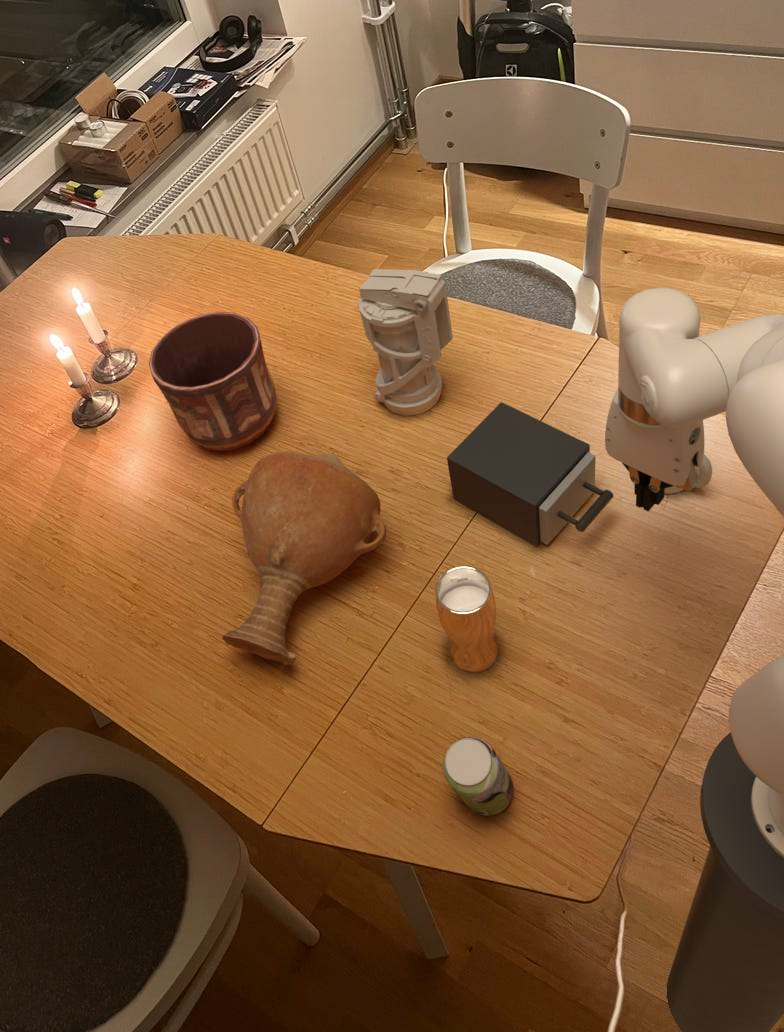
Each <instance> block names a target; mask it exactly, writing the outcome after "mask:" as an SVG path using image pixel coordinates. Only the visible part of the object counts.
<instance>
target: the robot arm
mask: <svg viewBox="0 0 784 1032" xmlns="http://www.w3.org/2000/svg"><path fill="white" fill-rule="evenodd" d="M700 328H701V311H700V308H699V306H698V304H697V303H696V301H695V299H693V297H691V296H690V295H689V294H687V293H686V292H683V291H681V290H678V289H676V288H675V289H674V288H670V287H655V288H654V287H653V288H648V289H644V290H641V291H639V292H637V293H635V294H634V295H632V296H631V297H630V298H628V299H627V300H626V302H624V304H623V306H622V308H621V311H620V314H619V323H618V370H617V371H618V372H617V373H618V377H617V381H618V382H617V383H618V384H617V389H616V391H615V393H614V394H613V397H612V400H611V403H610V405H609V410H608V412H607V417H606V424H605V431H604V432H605V434H604V446H605V447H604V448H605V451H606V453H607V454H608V455H609V456H610V457H611V458H612V459H614V460H616V461H617V462H620V463H621V464H622V466H624V468H625V469H626V470H627V471H628V473H629V474H628V475H629V479H630V481H631V482H632V483H633V484H634V488H633V489H634V490H633V493H634V496H635V507H637V508H639V509H641V508H642V509H643V510H644V511H646V512H650V511H651V510H652V508H653V507H654V506H655V505H656V506H659V505H660V504H661V502H662V501H663V500H664V497H665V493H664V492H665V488H668V487H672V486H673V485H674V486H676V487H678V488H681V489H685V491H688V492H691V491H692V490H693V489H694V488H695V487H694V486H695V485H696V484H697V479H696V475H697V474H696V469H694V466H696V468H698V469H699V467H700V466H701V464H702V462H703V459H704V455H705V426H704V420H707V419H709V418H710V419H711V418H712V417H715V416H717V415H722V413H725V422H726V424H725V425H726V428H727V434H728V436H729V440H730V441H731V444H732V447H733V449H734V452H735V454H736V455H737V457H738V459H739V461H740V462H741V464H742V465H743V467H744V469H745V471H746V472H747V473H748V474H749V475H750V477H751V478H752V480H753V481H754V482H755V484H756V485H757V487H758V488H759V489H760V490H761V491H762V493H763V494H764V495H765V497H766V498H767V499H768V500H769V501H770V503H771V504H772V505H773V506H774V508H775V509H776V510H777V511H778V512H779V514H780V515H781V516H782V517H783V518H784V313H776V314H766V315H760V316H756V317H752V318H748V319H745V320H742V321H739V322H735V323H733V324H729V325H726V326H724V327H721V328H718V329H716V330H713V331H711V332H708V333H705V334H702V335H700ZM728 724H729V725H728V726H729V731H730V732H731V735H732V738H733V741H734V744H735V746H736V749H737V751H738V753H739V755H740V756H741V758H742V760H743V761H744V763H745V764H746V765H747V767H748V768H749V769H750V770H751V771H752V772H753V774H754V775H755V776H756V778H755V781H754V783H753V786H752V792H751V809H752V812H753V816H754V820H755V822H756V824H757V827H758V829H759V831H760V833H761V834H762V835H763V837H764V838H765V840H766V841H767V843H768V844H769V845H770V846H771V847H772V848H773V849H774V850H775V851H776V852H777V853H778V854H779V855H780V856H781V857H783V858H784V654H783V655H781V656H779V657H776V658H775V659H773V660H772V661H769V663H767V664H766V665H764V666H763V667H762V668H761V669H759V670H758V671H756V672H755V673H754V674H752V675H751V676H750V677H748V678H747V679H745V680H744V681H743V682H741V684H739V685H738V687H737V688H736V689H735V690H734V692H733V694H732V696H731V700H730V703H729V707H728ZM766 829H769V830H770V831H771V833H769V832H767V831H766Z"/></svg>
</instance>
